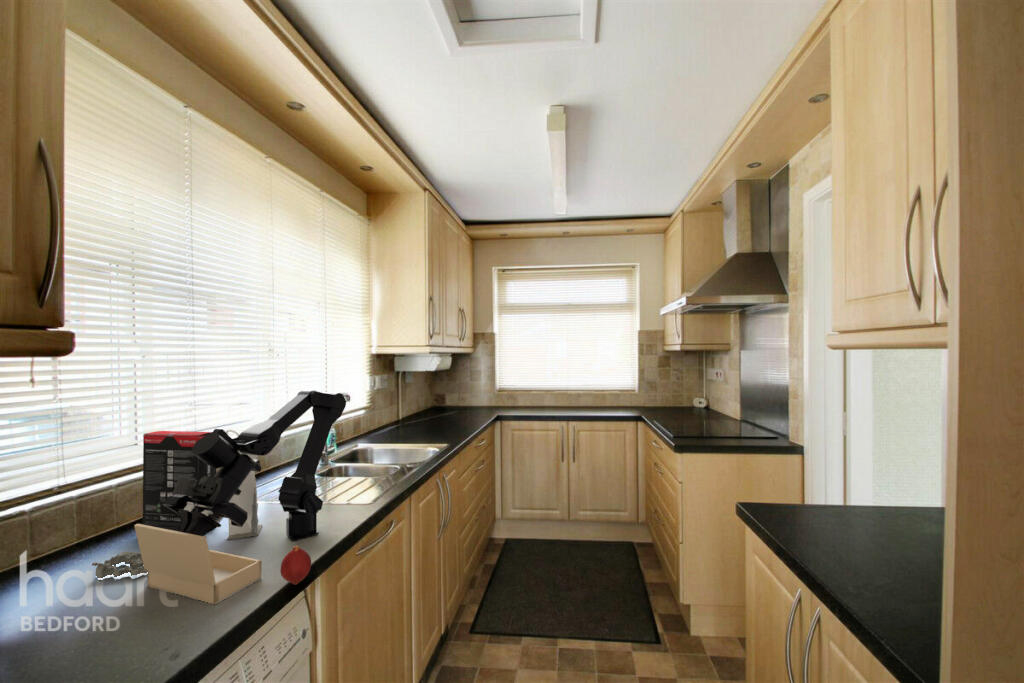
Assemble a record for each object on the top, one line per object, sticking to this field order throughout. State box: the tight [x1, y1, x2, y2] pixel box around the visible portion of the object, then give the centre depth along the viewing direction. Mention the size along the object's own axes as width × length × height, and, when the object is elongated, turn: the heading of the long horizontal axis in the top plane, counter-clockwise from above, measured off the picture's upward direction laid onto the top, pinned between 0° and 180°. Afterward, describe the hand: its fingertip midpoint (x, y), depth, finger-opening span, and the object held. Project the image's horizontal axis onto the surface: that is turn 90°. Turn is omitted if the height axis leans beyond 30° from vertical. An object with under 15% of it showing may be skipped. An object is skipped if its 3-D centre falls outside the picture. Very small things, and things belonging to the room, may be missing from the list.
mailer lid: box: [133, 523, 216, 586], centre depth 86 cm, size 10×20×1 cm
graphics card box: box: [142, 430, 217, 532], centre depth 118 cm, size 17×7×27 cm, turn 84°
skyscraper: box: [225, 429, 263, 541], centre depth 118 cm, size 8×8×28 cm
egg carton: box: [91, 551, 148, 578], centre depth 96 cm, size 11×8×4 cm
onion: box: [280, 545, 312, 585], centre depth 91 cm, size 6×6×8 cm
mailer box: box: [147, 549, 262, 605], centre depth 92 cm, size 10×20×4 cm, turn 70°
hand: (175, 551), depth 86 cm, fingers closed, pressing on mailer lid
